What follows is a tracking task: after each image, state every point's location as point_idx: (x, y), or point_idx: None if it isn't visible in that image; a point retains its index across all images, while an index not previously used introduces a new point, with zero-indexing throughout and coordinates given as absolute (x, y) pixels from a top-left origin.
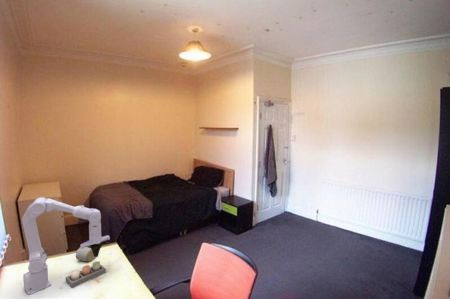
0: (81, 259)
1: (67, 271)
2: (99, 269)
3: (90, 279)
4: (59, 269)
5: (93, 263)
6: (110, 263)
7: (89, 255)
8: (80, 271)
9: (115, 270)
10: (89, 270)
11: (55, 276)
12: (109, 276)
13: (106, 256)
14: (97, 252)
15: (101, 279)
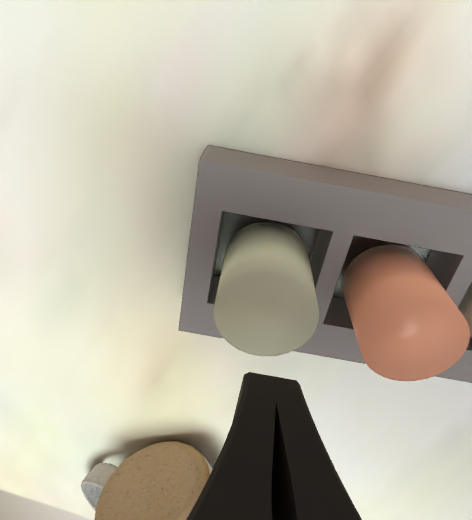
0: None
1: (370, 457)
2: (250, 229)
3: (399, 182)
4: (373, 511)
5: (293, 336)
6: (69, 269)
7: (172, 496)
8: None
9: (103, 80)
10: (385, 275)
11: (460, 470)
12: (235, 18)
13: (38, 394)
14: (268, 461)
15: (337, 57)
